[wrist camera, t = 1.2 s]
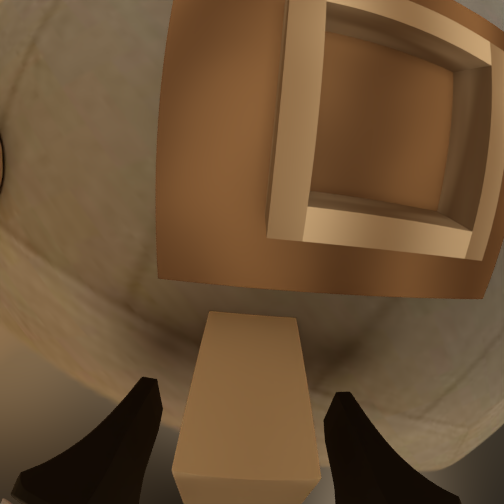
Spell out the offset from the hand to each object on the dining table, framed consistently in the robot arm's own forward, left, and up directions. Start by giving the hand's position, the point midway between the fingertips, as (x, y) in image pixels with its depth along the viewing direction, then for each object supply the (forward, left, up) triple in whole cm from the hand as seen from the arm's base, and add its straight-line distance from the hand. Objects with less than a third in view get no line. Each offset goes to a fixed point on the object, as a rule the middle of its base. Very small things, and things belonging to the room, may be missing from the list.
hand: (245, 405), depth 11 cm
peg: (0, 0, -4) cm, 4 cm away
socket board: (-4, -11, -4) cm, 12 cm away
